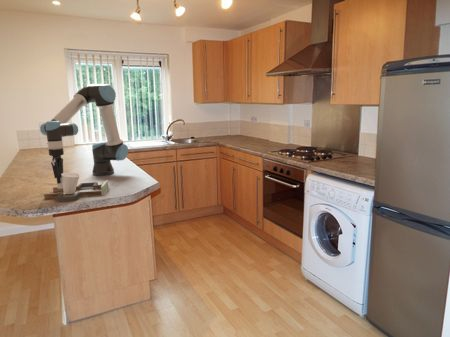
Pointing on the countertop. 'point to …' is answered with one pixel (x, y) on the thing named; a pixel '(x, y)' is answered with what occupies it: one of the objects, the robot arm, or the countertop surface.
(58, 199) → the trap bays
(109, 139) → the robot arm
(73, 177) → the cup
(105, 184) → the stop block
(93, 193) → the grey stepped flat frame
